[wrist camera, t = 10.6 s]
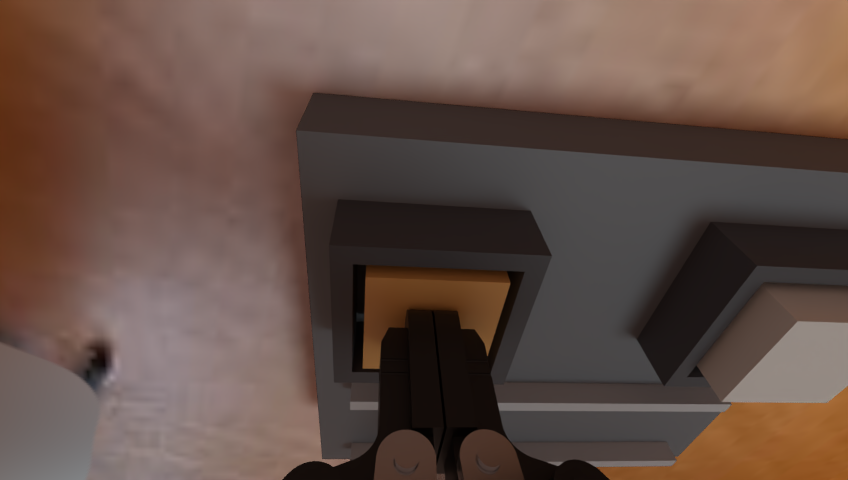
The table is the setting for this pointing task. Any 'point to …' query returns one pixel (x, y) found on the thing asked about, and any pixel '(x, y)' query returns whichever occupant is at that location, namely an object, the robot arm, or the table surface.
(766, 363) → the off-white button
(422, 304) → the orange button
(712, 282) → the control panel
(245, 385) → the table surface
